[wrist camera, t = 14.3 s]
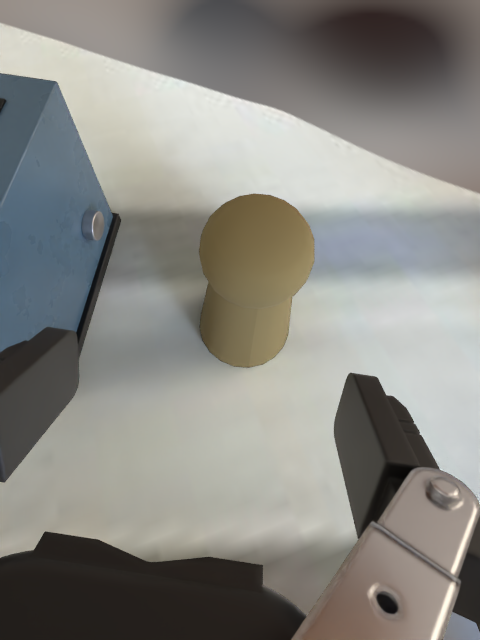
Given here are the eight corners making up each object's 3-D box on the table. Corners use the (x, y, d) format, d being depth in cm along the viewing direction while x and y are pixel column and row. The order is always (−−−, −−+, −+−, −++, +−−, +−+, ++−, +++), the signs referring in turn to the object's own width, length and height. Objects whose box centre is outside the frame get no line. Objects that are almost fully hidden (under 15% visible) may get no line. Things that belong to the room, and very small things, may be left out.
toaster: (129, 211, 29) (78, 63, 19) (71, 404, 24) (-46, 350, 13) (24, 195, 29) (-87, 39, 19) (-57, 385, 24) (-277, 316, 13)
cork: (212, 275, 27) (208, 158, 17) (295, 294, 27) (342, 188, 17) (188, 355, 25) (168, 275, 15) (279, 377, 25) (321, 311, 15)
